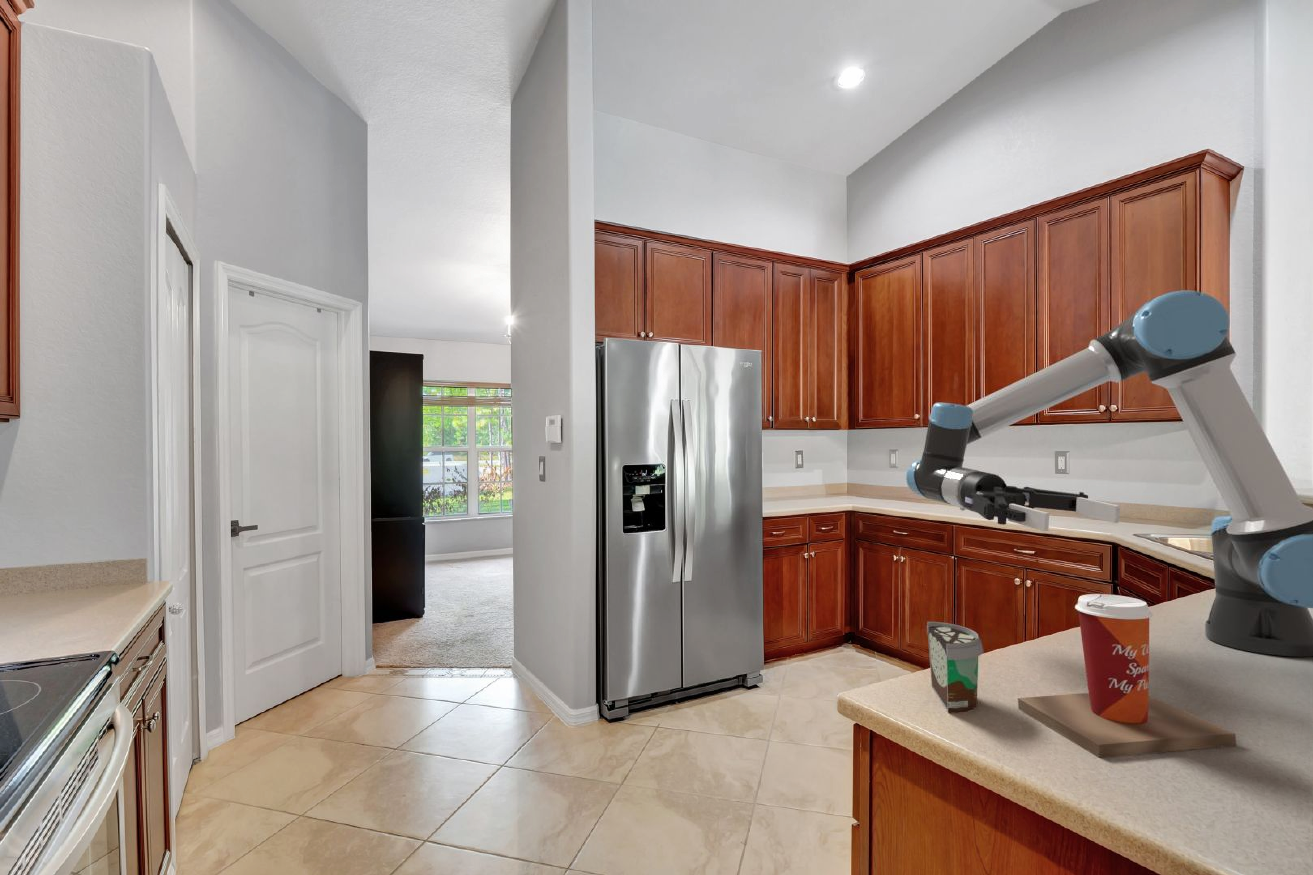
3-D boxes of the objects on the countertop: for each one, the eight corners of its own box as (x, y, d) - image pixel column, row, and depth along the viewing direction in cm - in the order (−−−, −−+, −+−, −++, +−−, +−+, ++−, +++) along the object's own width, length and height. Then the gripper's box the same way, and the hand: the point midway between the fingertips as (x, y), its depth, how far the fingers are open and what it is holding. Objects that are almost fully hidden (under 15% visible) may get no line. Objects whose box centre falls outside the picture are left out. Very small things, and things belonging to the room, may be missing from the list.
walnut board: (1135, 699, 87) (1134, 689, 87) (1236, 745, 74) (1235, 733, 74) (1018, 708, 86) (1017, 697, 86) (1099, 757, 72) (1098, 744, 72)
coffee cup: (1135, 733, 74) (1128, 610, 75) (1067, 709, 82) (1060, 597, 82) (1173, 719, 78) (1166, 601, 78) (1104, 696, 85) (1098, 590, 86)
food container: (999, 719, 83) (995, 646, 83) (951, 717, 84) (947, 644, 84) (971, 685, 95) (968, 621, 95) (929, 684, 96) (926, 620, 96)
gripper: (1028, 505, 115) (1143, 534, 95) (916, 516, 109) (1014, 550, 88) (1030, 466, 114) (1147, 487, 94) (918, 475, 108) (1017, 500, 87)
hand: (1083, 518), depth 91 cm, fingers open, 13 cm apart
